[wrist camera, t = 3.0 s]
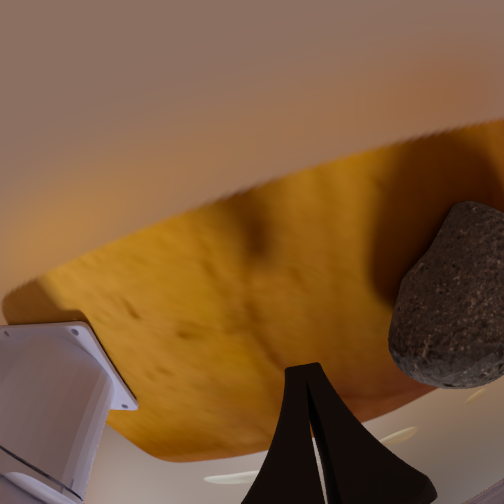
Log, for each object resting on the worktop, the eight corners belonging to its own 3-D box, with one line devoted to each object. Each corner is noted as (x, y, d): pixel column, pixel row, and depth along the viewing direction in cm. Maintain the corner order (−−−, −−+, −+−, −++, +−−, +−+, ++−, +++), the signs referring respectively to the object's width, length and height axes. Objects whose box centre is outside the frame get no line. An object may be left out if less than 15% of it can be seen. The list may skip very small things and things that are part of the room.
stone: (475, 201, 16) (502, 144, 8) (533, 301, 13) (597, 319, 5) (372, 281, 20) (325, 286, 12) (426, 379, 17) (414, 451, 9)
